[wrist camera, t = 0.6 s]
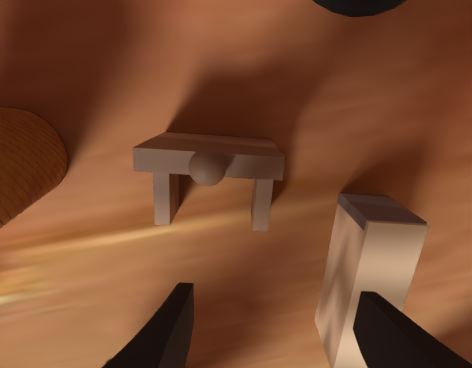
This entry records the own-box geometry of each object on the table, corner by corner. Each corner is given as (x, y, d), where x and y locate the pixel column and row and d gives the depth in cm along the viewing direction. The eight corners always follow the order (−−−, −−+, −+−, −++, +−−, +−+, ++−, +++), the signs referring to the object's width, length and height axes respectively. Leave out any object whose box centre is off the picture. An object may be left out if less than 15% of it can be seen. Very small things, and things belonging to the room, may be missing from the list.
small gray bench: (263, 212, 21) (276, 274, 14) (166, 206, 21) (127, 265, 14) (272, 134, 19) (291, 158, 12) (164, 127, 19) (119, 147, 12)
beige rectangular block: (353, 321, 24) (381, 376, 19) (313, 318, 24) (331, 373, 19) (385, 194, 20) (430, 224, 16) (338, 191, 20) (368, 220, 16)
